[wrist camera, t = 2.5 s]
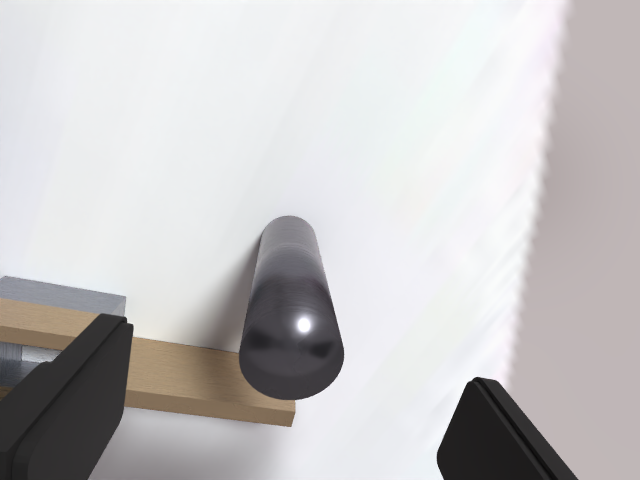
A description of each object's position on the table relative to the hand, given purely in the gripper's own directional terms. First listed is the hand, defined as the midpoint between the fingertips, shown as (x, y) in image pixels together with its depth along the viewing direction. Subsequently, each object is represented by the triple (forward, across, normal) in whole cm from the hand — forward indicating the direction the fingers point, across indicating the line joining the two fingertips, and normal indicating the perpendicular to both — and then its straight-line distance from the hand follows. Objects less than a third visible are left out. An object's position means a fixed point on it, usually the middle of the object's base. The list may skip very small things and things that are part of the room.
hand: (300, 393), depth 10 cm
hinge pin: (+11, 0, -1) cm, 11 cm away
